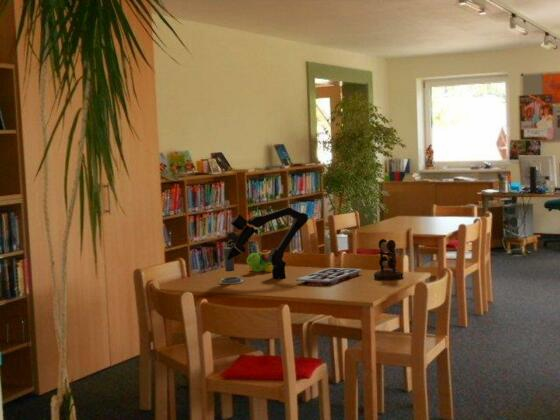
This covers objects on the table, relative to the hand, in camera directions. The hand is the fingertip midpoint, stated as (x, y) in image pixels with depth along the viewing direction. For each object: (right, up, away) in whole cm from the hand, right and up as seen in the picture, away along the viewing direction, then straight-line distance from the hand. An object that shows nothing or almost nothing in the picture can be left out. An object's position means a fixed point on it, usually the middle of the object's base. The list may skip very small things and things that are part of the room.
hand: (226, 258), depth 417 cm
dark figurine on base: (+84, -9, -12) cm, 85 cm away
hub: (+2, -13, +3) cm, 13 cm away
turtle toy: (+19, -10, +35) cm, 41 cm away
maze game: (+54, -11, -6) cm, 56 cm away
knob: (+2, -6, +1) cm, 7 cm away
